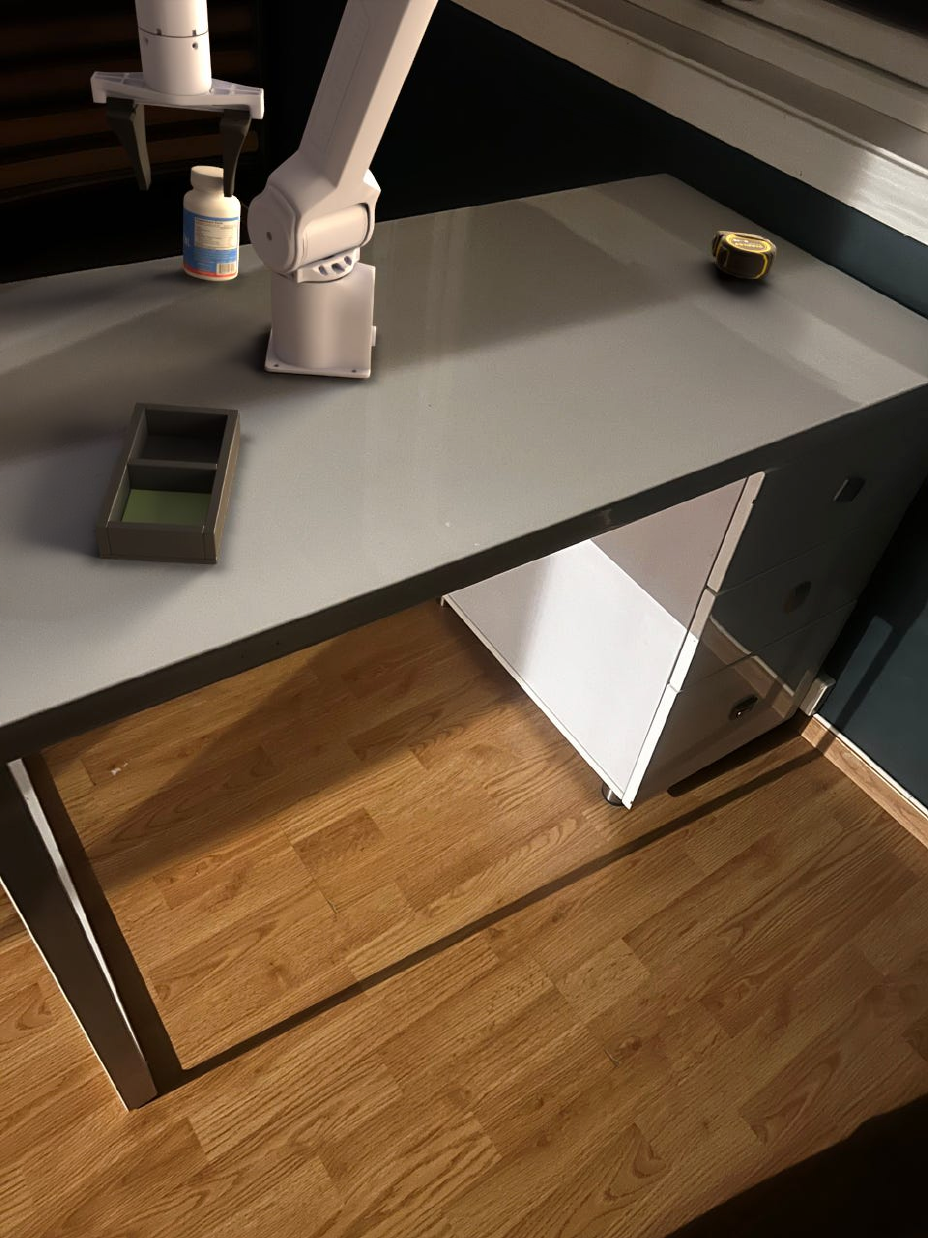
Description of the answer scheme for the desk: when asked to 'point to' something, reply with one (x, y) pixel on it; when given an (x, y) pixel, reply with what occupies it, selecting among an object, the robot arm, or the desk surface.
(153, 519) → the divided tray
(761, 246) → the tape measure
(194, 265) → the pill bottle
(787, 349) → the desk surface
